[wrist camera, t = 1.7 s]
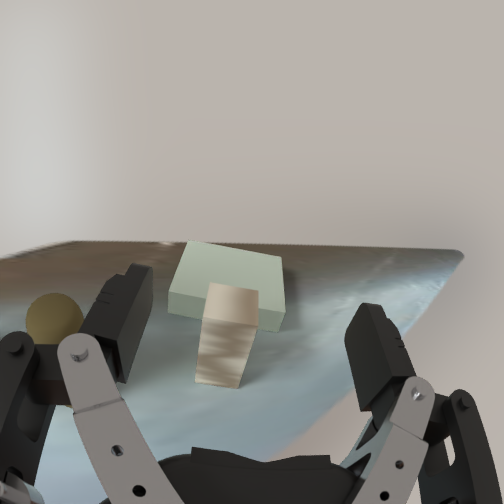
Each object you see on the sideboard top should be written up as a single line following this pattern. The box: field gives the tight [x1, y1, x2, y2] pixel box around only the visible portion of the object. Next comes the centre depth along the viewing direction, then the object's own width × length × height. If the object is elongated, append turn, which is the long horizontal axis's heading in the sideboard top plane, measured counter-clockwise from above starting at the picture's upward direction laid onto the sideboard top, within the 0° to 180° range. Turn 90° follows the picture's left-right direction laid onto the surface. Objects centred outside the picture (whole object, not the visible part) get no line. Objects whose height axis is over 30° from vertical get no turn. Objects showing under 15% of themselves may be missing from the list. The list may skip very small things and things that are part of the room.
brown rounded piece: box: [26, 293, 84, 408], centre depth 22 cm, size 6×6×11 cm
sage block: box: [168, 240, 286, 332], centre depth 41 cm, size 14×12×4 cm
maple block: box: [195, 282, 259, 389], centre depth 28 cm, size 4×4×10 cm
